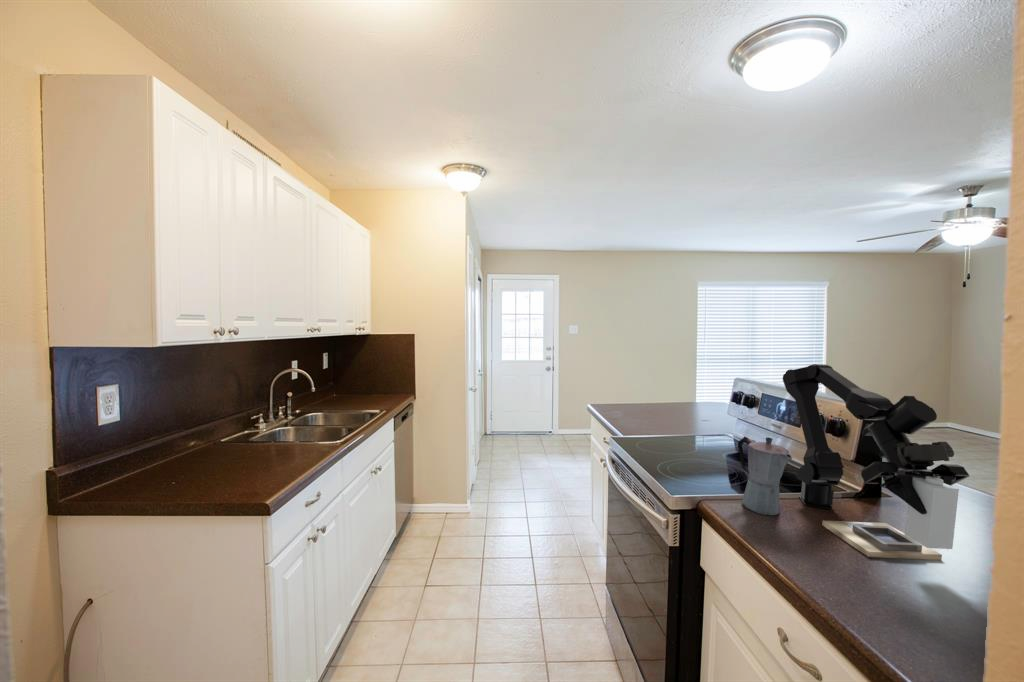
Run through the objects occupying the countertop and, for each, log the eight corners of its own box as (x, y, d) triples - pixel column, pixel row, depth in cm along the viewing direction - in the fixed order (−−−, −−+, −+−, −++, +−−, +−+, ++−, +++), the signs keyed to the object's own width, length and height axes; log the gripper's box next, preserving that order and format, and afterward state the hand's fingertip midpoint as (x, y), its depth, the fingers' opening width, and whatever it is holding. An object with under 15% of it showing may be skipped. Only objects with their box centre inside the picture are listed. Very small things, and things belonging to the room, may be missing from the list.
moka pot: (776, 523, 106) (782, 446, 105) (721, 499, 120) (726, 430, 119) (798, 516, 111) (804, 442, 109) (743, 493, 124) (747, 427, 123)
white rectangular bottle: (904, 535, 90) (910, 473, 89) (928, 536, 90) (934, 474, 89) (927, 548, 85) (934, 483, 84) (952, 549, 85) (959, 484, 84)
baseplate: (822, 525, 106) (823, 514, 106) (885, 527, 106) (886, 517, 106) (868, 556, 92) (869, 545, 92) (941, 560, 92) (942, 548, 92)
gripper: (876, 424, 90) (921, 497, 80) (965, 428, 90) (1020, 501, 79) (845, 449, 98) (881, 517, 88) (925, 452, 98) (971, 521, 88)
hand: (937, 514), depth 86 cm, fingers closed on white rectangular bottle, 5 cm apart
